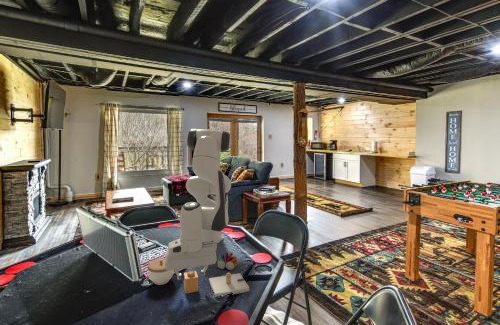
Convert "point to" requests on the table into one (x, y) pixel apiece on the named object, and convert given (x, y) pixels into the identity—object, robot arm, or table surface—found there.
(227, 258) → the rainbow segmented toy
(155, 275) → the lidded jar
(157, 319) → the table surface
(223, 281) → the plate
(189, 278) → the orange cube with dome
